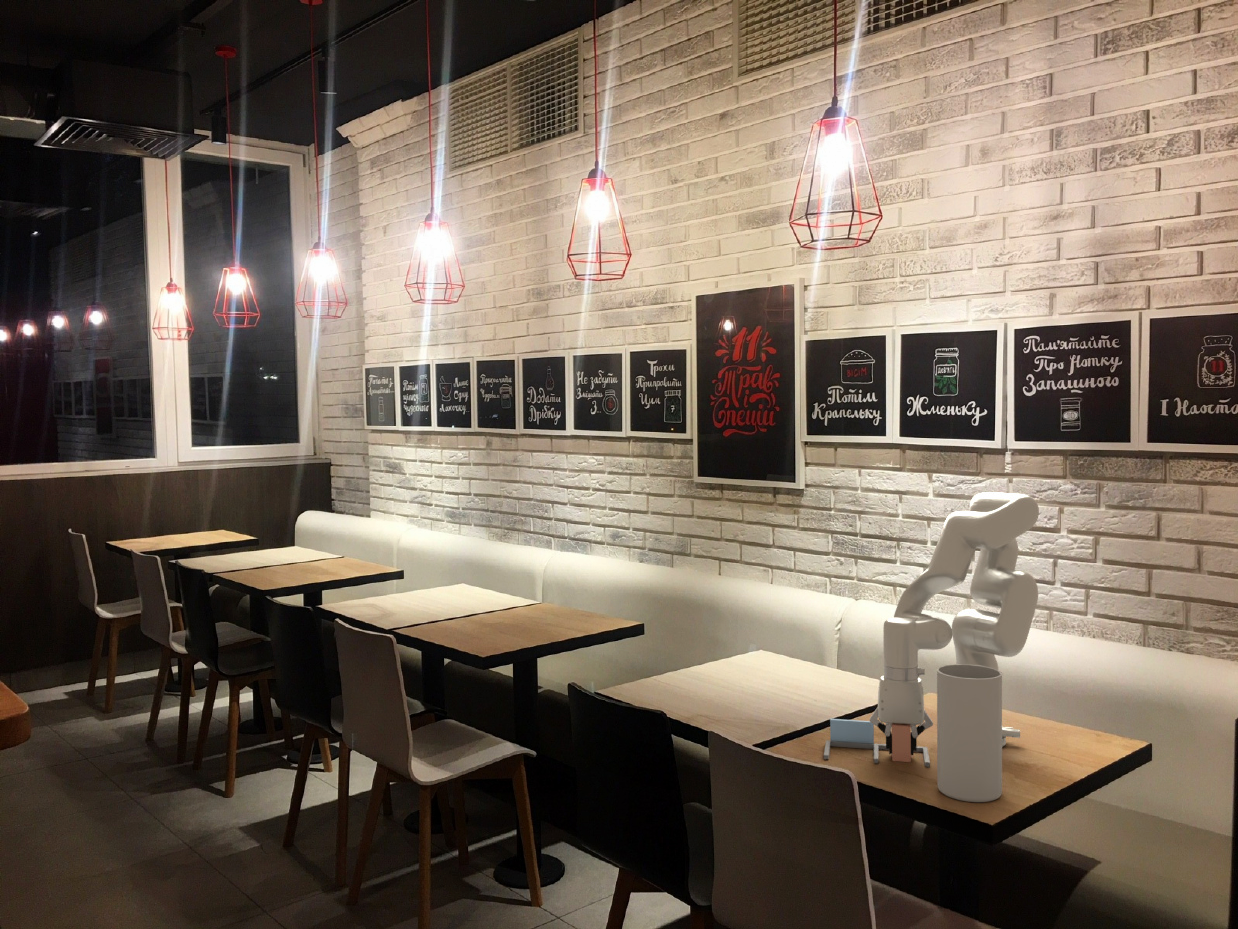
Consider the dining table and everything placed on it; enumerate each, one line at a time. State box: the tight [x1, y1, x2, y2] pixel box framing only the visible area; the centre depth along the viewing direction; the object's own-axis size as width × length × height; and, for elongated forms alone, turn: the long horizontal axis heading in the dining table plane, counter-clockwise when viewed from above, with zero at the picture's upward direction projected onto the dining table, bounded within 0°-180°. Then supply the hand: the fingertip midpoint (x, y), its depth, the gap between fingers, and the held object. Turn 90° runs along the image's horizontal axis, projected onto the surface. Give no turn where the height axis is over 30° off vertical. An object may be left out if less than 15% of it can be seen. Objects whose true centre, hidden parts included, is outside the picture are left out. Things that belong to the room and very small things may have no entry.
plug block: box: [891, 723, 912, 763], centre depth 221 cm, size 4×5×8 cm
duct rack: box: [823, 718, 931, 768], centre depth 223 cm, size 23×12×6 cm, turn 75°
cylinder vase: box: [936, 663, 1003, 803], centre depth 199 cm, size 12×12×25 cm
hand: (901, 752), depth 221 cm, fingers closed on plug block, 4 cm apart
